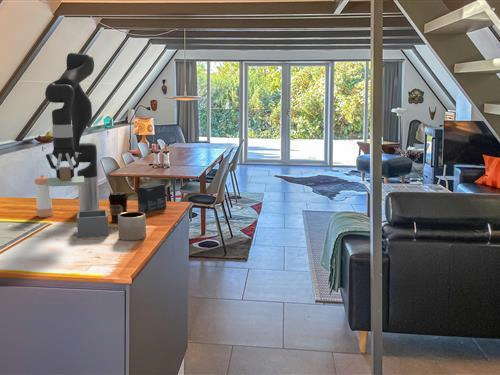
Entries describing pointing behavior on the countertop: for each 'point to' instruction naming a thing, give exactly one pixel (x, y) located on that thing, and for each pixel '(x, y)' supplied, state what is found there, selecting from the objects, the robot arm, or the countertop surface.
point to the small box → (151, 197)
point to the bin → (92, 223)
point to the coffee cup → (117, 204)
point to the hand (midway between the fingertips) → (65, 178)
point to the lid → (65, 179)
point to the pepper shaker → (43, 197)
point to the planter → (131, 226)
